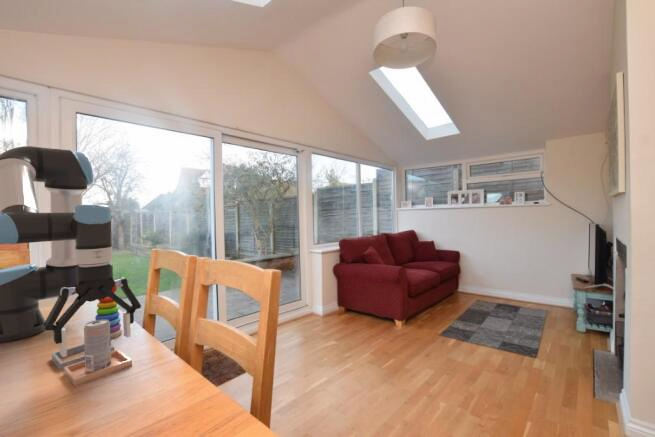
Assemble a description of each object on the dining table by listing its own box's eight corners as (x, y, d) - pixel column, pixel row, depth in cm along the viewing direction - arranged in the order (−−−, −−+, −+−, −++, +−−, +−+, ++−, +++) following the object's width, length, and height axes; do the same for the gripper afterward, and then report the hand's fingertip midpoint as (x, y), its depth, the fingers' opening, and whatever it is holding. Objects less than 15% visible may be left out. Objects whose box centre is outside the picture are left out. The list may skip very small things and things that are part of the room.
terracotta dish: (63, 374, 77) (63, 367, 77) (118, 355, 86) (118, 349, 86) (74, 387, 71) (74, 380, 71) (132, 366, 80) (131, 359, 80)
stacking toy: (106, 342, 95) (104, 283, 95) (86, 340, 97) (84, 283, 97) (127, 332, 103) (126, 278, 103) (108, 331, 105) (106, 277, 104)
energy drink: (107, 361, 82) (106, 317, 82) (114, 367, 79) (112, 321, 78) (83, 369, 78) (81, 323, 78) (88, 376, 75) (86, 328, 74)
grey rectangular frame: (51, 359, 85) (51, 353, 85) (103, 344, 94) (102, 338, 94) (60, 370, 78) (60, 363, 78) (114, 353, 88) (114, 346, 88)
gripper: (30, 274, 66) (34, 370, 66) (152, 258, 85) (154, 332, 86) (24, 270, 70) (28, 359, 71) (141, 256, 90) (143, 326, 91)
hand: (97, 345), depth 78 cm, fingers open, 13 cm apart
